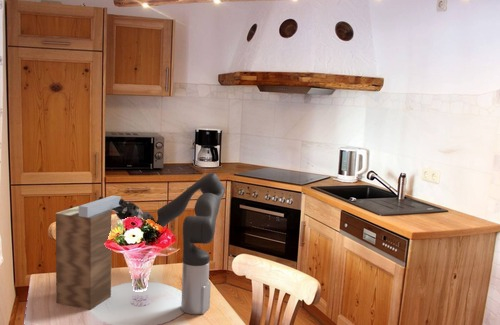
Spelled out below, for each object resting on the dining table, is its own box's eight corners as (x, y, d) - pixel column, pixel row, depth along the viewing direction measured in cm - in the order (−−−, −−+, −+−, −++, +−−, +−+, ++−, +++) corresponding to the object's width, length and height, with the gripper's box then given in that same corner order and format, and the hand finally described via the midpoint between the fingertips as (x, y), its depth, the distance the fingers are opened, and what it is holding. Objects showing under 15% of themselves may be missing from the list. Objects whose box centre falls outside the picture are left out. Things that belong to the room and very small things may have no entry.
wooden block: (110, 296, 176) (111, 210, 172) (90, 309, 165) (90, 217, 160) (78, 290, 180) (78, 206, 176) (56, 302, 169) (55, 213, 164)
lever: (120, 205, 180) (120, 196, 179) (87, 217, 161) (87, 207, 160) (112, 204, 181) (112, 195, 180) (78, 216, 162) (78, 206, 161)
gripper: (143, 225, 186) (123, 212, 172) (111, 220, 191) (89, 207, 176) (148, 206, 189) (129, 192, 175) (117, 202, 193) (96, 188, 179)
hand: (109, 200), depth 175 cm, fingers open, 8 cm apart
